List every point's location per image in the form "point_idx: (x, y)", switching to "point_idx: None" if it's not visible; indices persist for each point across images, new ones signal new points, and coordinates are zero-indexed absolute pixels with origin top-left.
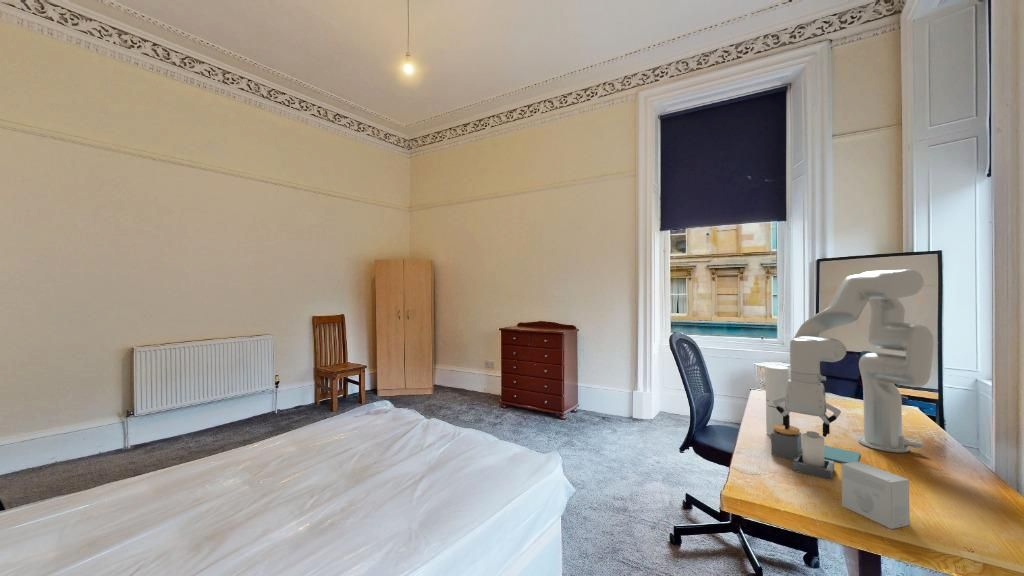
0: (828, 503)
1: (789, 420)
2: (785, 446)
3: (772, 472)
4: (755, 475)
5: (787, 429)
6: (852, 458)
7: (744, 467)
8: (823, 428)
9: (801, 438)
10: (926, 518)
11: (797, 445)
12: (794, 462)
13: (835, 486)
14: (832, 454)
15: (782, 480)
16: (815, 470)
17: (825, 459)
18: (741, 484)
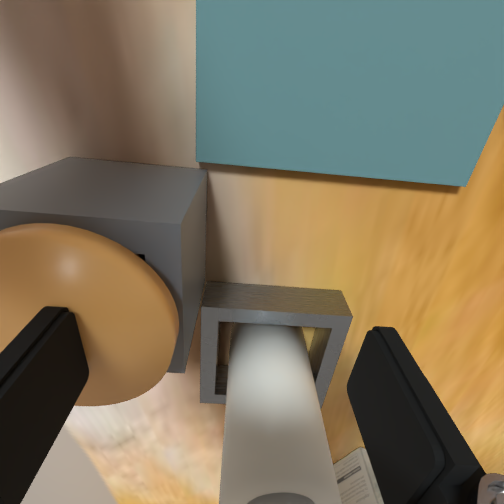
0: None
1: (25, 376)
2: None
3: (158, 412)
4: (129, 446)
5: (89, 372)
6: (484, 78)
7: (82, 422)
8: (376, 468)
9: (190, 207)
10: (481, 442)
11: (192, 334)
12: (207, 402)
13: (322, 405)
14: (375, 78)
15: (194, 438)
16: None
17: (318, 314)
18: (125, 488)
